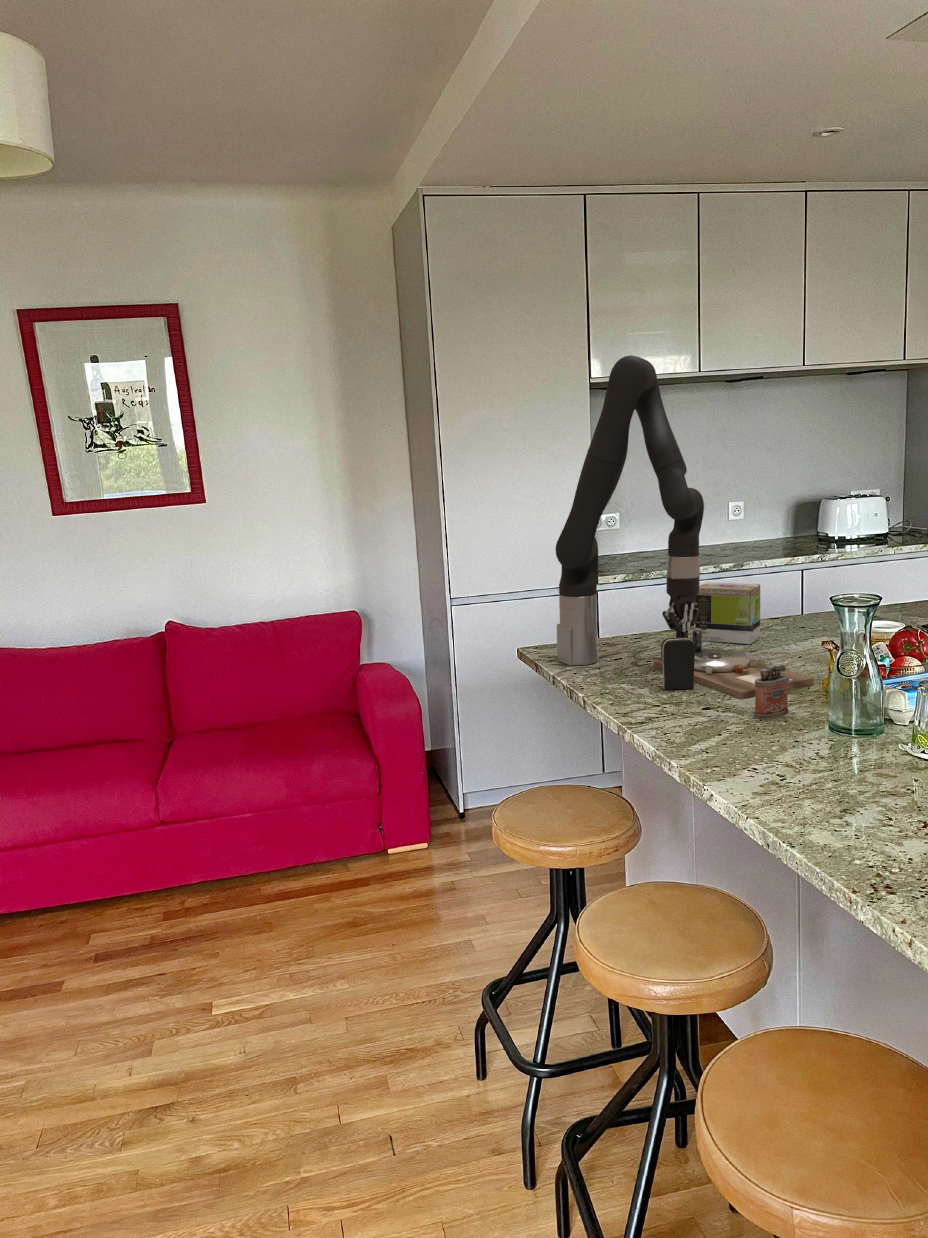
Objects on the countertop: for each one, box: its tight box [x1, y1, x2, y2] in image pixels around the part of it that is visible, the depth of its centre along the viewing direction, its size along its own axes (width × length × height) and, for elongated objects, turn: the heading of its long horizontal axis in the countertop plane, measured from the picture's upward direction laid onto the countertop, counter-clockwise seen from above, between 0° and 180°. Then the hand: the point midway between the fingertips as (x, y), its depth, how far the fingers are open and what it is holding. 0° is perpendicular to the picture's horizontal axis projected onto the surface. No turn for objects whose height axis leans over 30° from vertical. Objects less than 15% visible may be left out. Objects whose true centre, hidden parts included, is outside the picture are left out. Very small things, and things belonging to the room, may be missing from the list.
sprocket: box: [691, 629, 759, 674], centre depth 213 cm, size 19×19×6 cm
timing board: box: [653, 659, 815, 700], centre depth 209 cm, size 20×31×2 cm, turn 24°
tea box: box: [694, 581, 761, 645], centre depth 242 cm, size 15×10×15 cm, turn 58°
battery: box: [660, 636, 695, 691], centre depth 200 cm, size 7×4×11 cm, turn 92°
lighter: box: [753, 663, 789, 720], centre depth 179 cm, size 8×3×10 cm, turn 118°
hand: (681, 646), depth 215 cm, fingers closed
